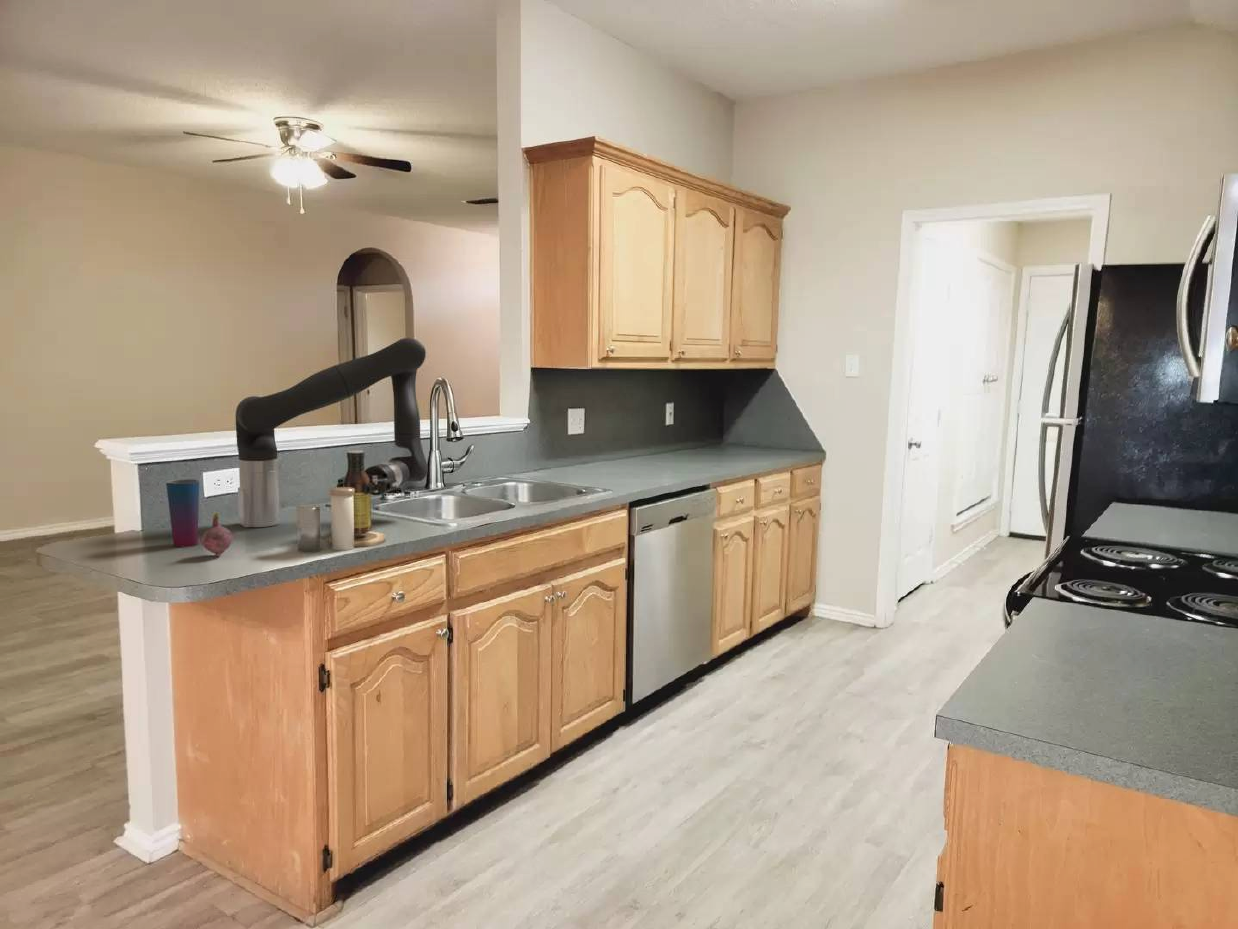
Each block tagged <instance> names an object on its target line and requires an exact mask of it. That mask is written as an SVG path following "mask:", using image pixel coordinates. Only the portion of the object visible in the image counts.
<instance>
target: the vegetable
mask: <svg viewBox="0 0 1238 929" xmlns="http://www.w3.org/2000/svg"><path fill="white" fill-rule="evenodd" d="M212 518H213V519H212V525H211V527H210V528H209V529H207V530H205V531H204V533H203V534H202V538H201V544H202V546H203V547H204V549H206V550H207V551H208V552H210V553H213V554H214V555H215V556H221V555H222V554H224V553H225V551H227V550H228V549H229V547H230V546H231V545H232V542H233V539H234V536H233V534H232V532H231V530H229V529H228V528H226V527H224V526H222V525H220V523H219V521H218V520H219V512H218V511H217V512H215V514H213V517H212Z"/></svg>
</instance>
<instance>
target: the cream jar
mask: <svg viewBox="0 0 1238 929" xmlns="http://www.w3.org/2000/svg"><path fill="white" fill-rule="evenodd" d="M328 491H329V493H328V494H329V495H330V516H331V517H330V518H331V520H330V521H331V522H330V523H331V524H330V525H331V530H330V531H331V536H332V545H331V550H333V551H337V550H338V551H339V550H340V552H341V551H350V550H349V549H351V550H353V549H352V548H354V549H355V547H354V499H353V494H354V493H355V488H352V487H337V486H336V487H331V488H329V489H328ZM338 551H337V552H338Z"/></svg>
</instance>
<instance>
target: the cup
mask: <svg viewBox="0 0 1238 929" xmlns="http://www.w3.org/2000/svg"><path fill="white" fill-rule="evenodd" d="M165 483H166V491H167V492H166V493H167V499H168V500H167V501H168V502H167V503H168V509H169V518H170V527H171V535H172V541H173V542H172V544H173V547H175V546H179V547H178V548H185V547H184V546H190V547H194V546H196V545H198V544H199V511H200V508H199V507H200V506H199V505H200V502H199V501H200V479H196V478H177V479H176V478H175V479H171V480H170V479H169V480H167V481H166V482H165ZM182 546H183V547H182Z"/></svg>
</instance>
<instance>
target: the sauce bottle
mask: <svg viewBox="0 0 1238 929" xmlns="http://www.w3.org/2000/svg"><path fill="white" fill-rule="evenodd" d="M365 455H366V454H365V451H364V450H360V449H359V450H358V449H356V450H353V449H352V450H348V451H346V458H347V472H346V475H345V476H346V477H345V476H344V477H345V480H344V483H343V487H352V488H355V493H354V494H353V499H354V534H364V533H367V532H369V531H370V532H371V531H372V530H371V529H372V527H371V525H372V504H371V503H372V502H371V494H364V485H366V484H369V483H370V480H369V477H368V475H367V474H366V472H365V470H366V469H365Z"/></svg>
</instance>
